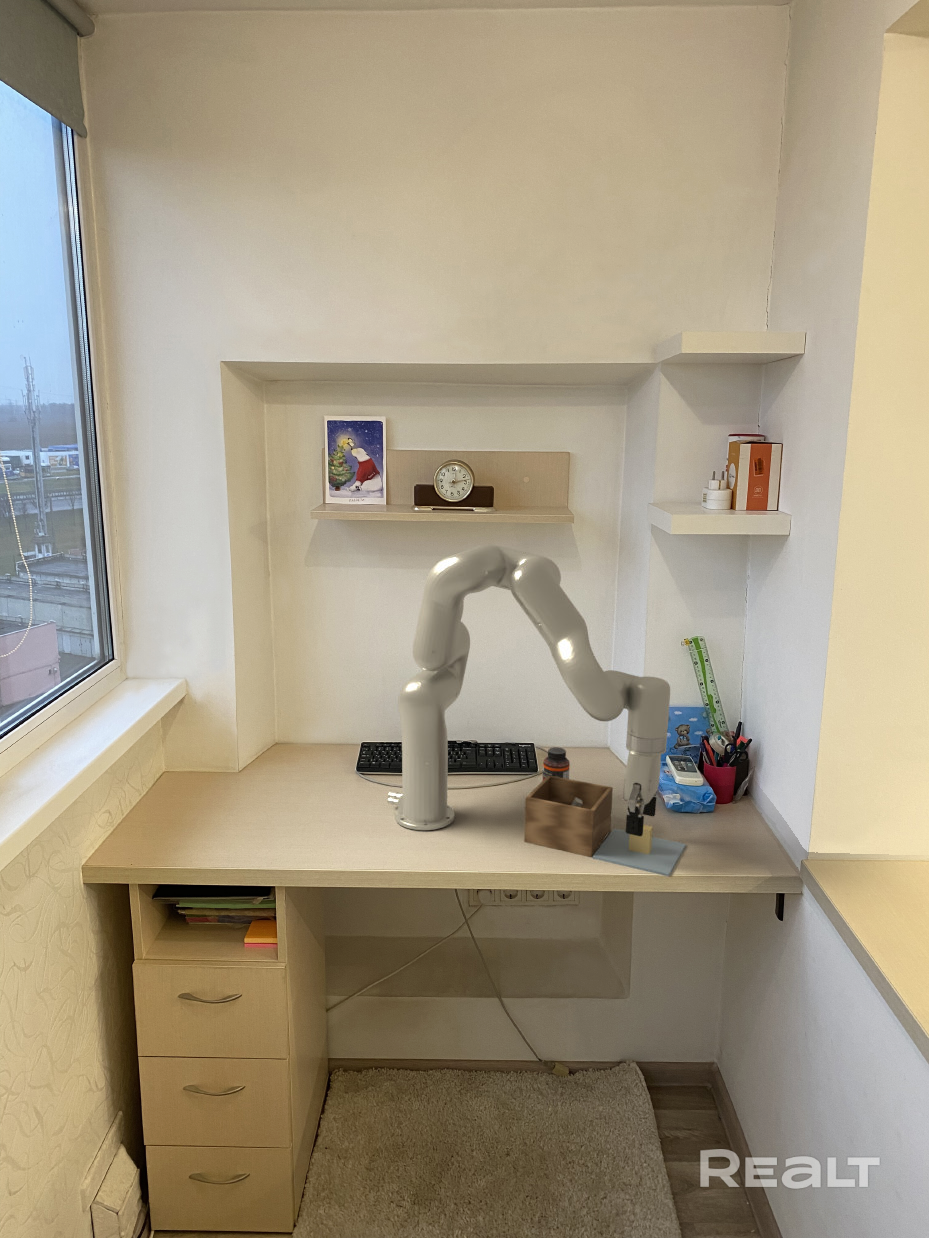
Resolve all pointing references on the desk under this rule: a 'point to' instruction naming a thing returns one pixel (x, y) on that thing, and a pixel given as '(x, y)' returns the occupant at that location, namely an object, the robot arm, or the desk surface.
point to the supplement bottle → (556, 763)
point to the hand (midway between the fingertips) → (640, 824)
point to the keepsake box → (568, 815)
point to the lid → (640, 851)
